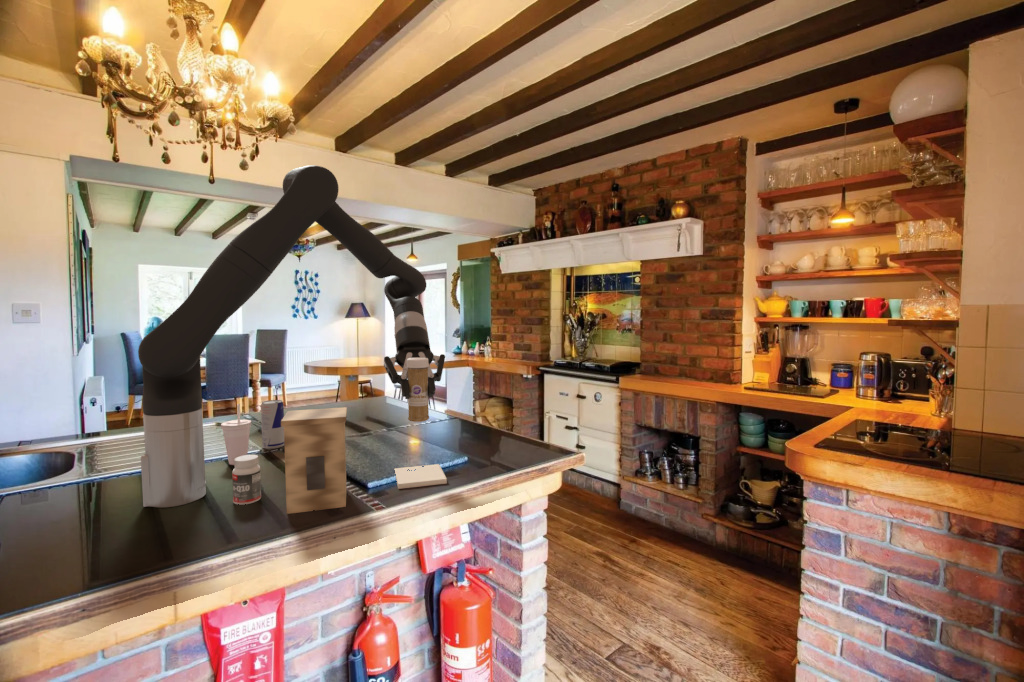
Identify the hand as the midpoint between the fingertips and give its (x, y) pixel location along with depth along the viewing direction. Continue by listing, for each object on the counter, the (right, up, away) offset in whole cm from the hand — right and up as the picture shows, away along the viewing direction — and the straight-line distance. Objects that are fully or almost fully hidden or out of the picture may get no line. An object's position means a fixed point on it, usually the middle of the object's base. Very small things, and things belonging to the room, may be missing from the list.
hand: (419, 395), depth 102 cm
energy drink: (-44, -17, +26) cm, 54 cm away
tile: (0, -18, +3) cm, 18 cm away
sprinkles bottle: (-1, -6, +2) cm, 6 cm away
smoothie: (-46, -18, +13) cm, 51 cm away
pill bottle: (-31, -19, -9) cm, 38 cm away
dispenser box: (-17, -19, -10) cm, 28 cm away
